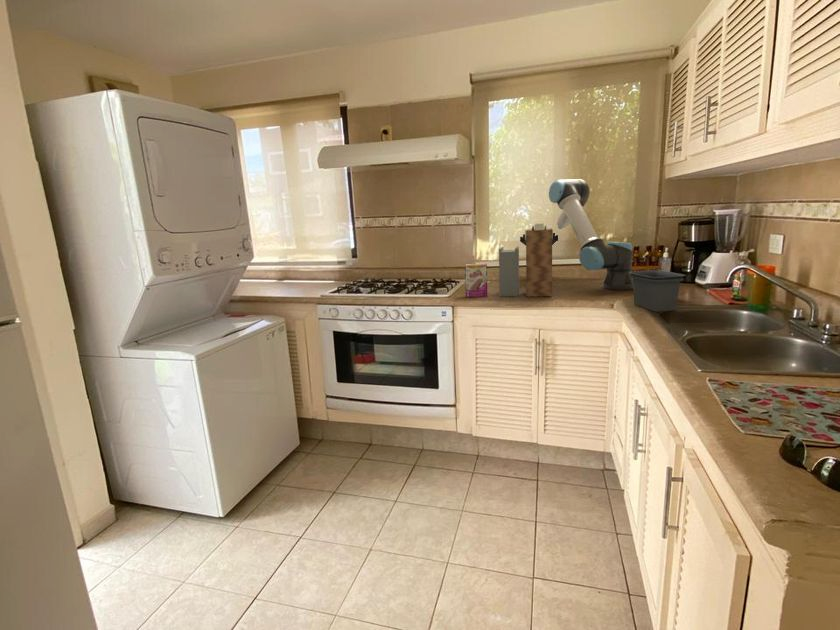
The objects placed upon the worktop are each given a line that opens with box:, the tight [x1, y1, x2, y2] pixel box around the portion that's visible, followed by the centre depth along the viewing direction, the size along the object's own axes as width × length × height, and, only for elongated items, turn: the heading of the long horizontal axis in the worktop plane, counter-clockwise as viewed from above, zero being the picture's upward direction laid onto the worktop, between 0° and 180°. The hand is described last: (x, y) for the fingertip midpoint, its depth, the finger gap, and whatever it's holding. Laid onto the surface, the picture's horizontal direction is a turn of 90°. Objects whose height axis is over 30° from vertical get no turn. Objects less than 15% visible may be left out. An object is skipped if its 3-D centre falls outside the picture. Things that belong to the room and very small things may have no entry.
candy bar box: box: [464, 263, 488, 298], centre depth 231 cm, size 11×5×16 cm, turn 84°
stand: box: [525, 225, 553, 298], centre depth 224 cm, size 12×12×34 cm
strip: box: [534, 221, 545, 230], centre depth 224 cm, size 4×22×3 cm, turn 165°
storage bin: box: [629, 269, 686, 313], centre depth 184 cm, size 21×16×14 cm
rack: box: [498, 246, 520, 297], centre depth 232 cm, size 9×12×24 cm
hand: (538, 231), depth 241 cm, fingers open, 13 cm apart
